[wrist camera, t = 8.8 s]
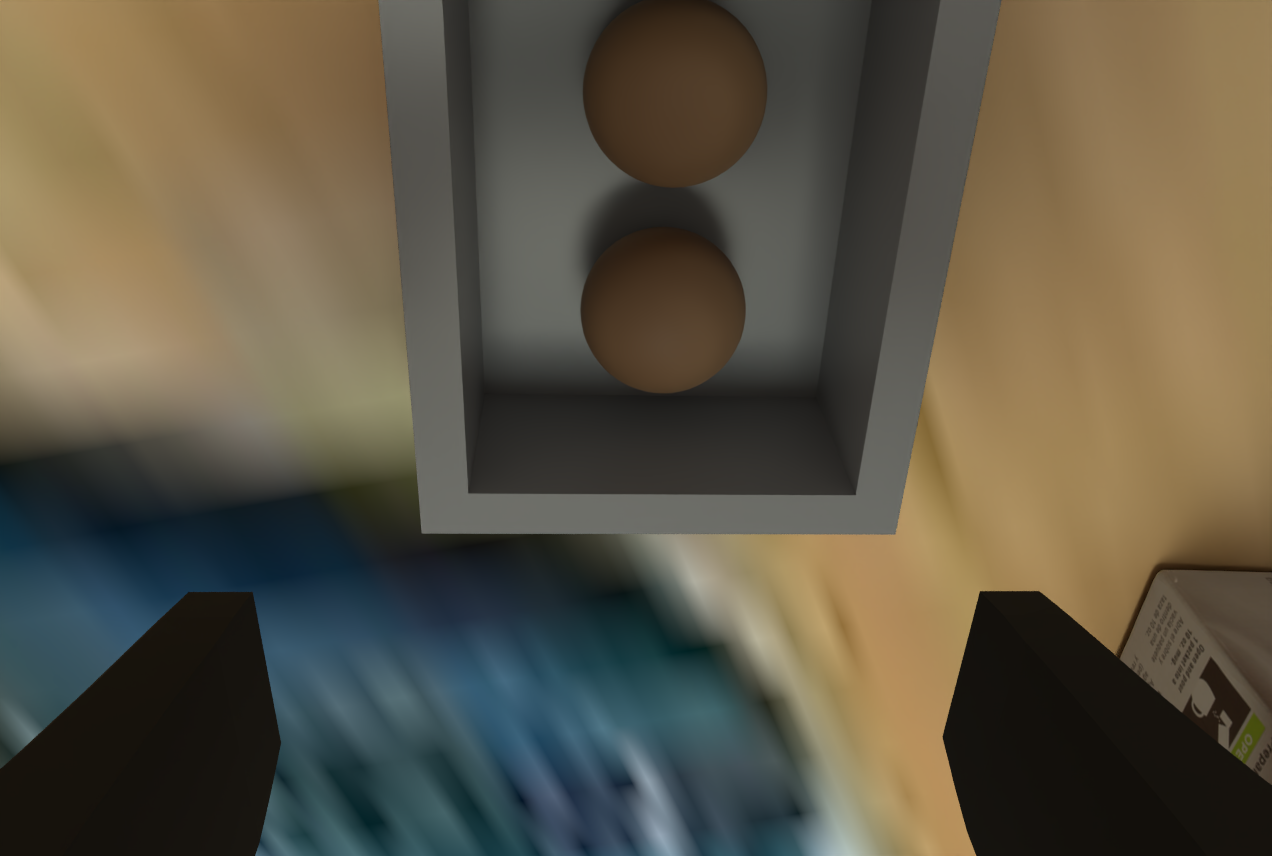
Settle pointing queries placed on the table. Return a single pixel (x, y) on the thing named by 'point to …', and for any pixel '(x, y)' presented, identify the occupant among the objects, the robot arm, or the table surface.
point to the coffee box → (1211, 655)
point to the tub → (716, 209)
